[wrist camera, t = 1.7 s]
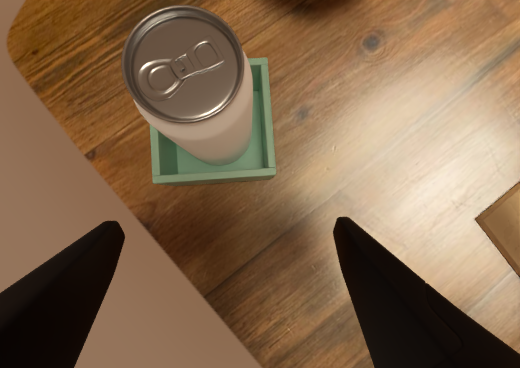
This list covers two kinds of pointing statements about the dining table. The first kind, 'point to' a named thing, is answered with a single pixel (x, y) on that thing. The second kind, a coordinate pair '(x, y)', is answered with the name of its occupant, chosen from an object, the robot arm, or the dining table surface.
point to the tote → (244, 169)
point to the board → (505, 226)
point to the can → (191, 81)
